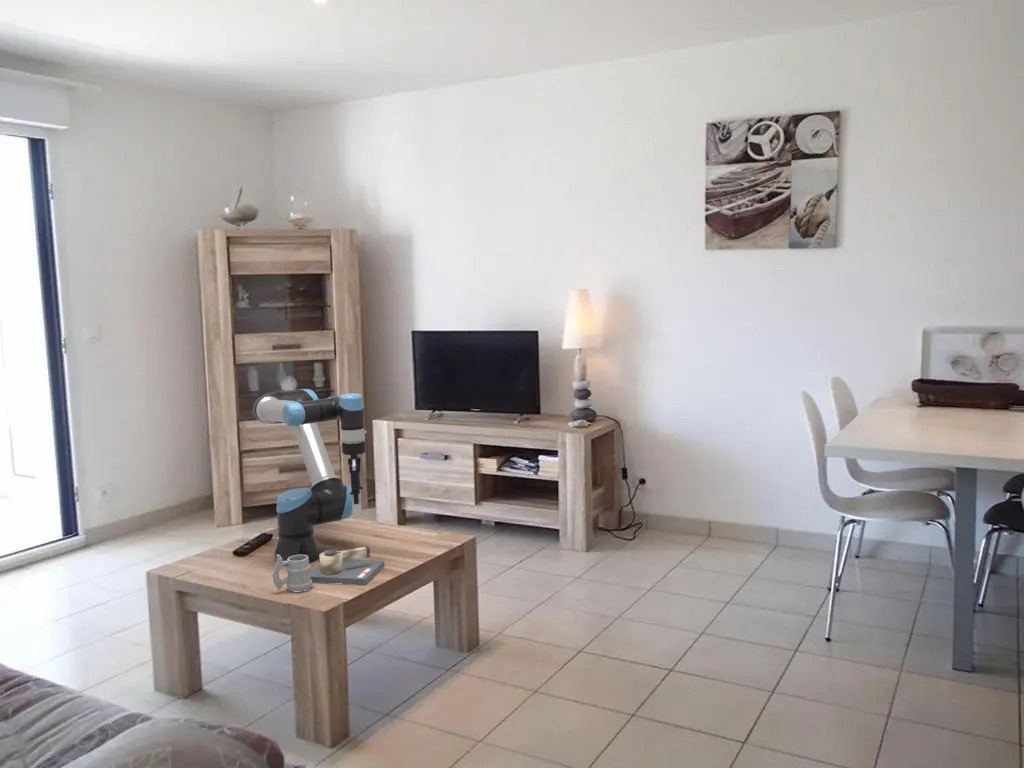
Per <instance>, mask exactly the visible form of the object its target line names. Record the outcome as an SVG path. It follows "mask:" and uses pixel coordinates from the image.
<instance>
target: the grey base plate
mask: <svg viewBox="0 0 1024 768" xmlns="http://www.w3.org/2000/svg"><path fill="white" fill-rule="evenodd" d="M384 566H385V560H376V559H375V560H374V559H373V560H371V559H369V560H368V559H357V560H351V561H346V562H343V571H342V572H341V573H339V574H336V575H323V574H321V572H320V564H318V566H316V567H315V568H313V569H312V570H310V577H311V579H312V582H318V583H317V584H328V583H342V584H341V585H348V584H356V585H355V586H367V585H368V584H369V582H370V581H372V580H373V577H374V576H375V575H376V574H377V573H378V572H379V571H380V570H381V569H382V568H383V567H384ZM384 568H385V567H384ZM384 568H383V569H384ZM383 569H382V570H383ZM382 570H381V571H382ZM381 571H380V572H381ZM380 572H379V573H380ZM379 573H378V574H379ZM378 574H377V575H378ZM377 575H376V576H377ZM374 578H375V577H374ZM319 582H321V583H319ZM323 582H324V583H323Z"/></svg>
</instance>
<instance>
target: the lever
mask: <svg viewBox="0 0 1024 768" xmlns="http://www.w3.org/2000/svg"><path fill="white" fill-rule="evenodd" d="M319 556H320V557H319V565H320V572H321V574H323V575H336V574H339V573H341V572H342V571H343V562H346V561H351V560H363V559H367V558H371V550H370V547H369V546H368V545H366V546H363V547H357V548H352V549H345V550H340V551H339V550H338V549H336V548H329V549H325V550H324V551H323V552H320V555H319Z"/></svg>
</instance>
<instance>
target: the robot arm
mask: <svg viewBox="0 0 1024 768" xmlns="http://www.w3.org/2000/svg"><path fill="white" fill-rule="evenodd" d="M363 399H364V397H363V395H362V394H360V393H355V392H353V393H349V392H348V393H343V394H340V396H338V395H336V396H334V395H332V396H329V397H327V398H321V399H319V397H318V396H317V394H316V392H315V391H313V390H312V389H309V388H298V389H294V390H282V391H274V392H273V391H272V392H267V393H265V394H263V395H261V396H260V397H258V398H257V399H256V400H255V402H254V404H253V408H252V412H253V415H254V417H255V419H256V420H257V421H259V422H260V423H262V424H266V425H267V424H268V425H269V424H270V425H272V424H273V425H274V424H275V425H276V424H286V427H287V429H288V430H290V431H291V432H293V433H294V436H295V438H296V443H297V445H298V448H299V451H300V453H301V456H302V459H303V462H304V465H305V467H306V470H307V474H308V477H309V480H310V482H311V487H310V488H309V487H300V488H292V489H288V490H286V491H284V492H282V493H280V494H279V495H278V496H277V499H276V508H275V509H276V516H277V531H278V541H277V545H276V548H275V552H274V561H276V560H277V554H278V555H280V556H281V557H282V560H283V561H287V559H288V558H289V557H291V556H294V555H307V556H308V557H309V564H310V563H312V562H315V561H317V560H319V559H320V556H319V555H320V554H321V549H320V546H319V543H318V541H317V539H316V536H315V534H314V526H318V525H322V524H327V523H332V522H338V521H339V522H340V521H341V520H345V519H348V518H350V517H351V516H352V515H353V514H354V515H356V514H362V493H361V492H362V491H361V490H363V486H361V476H360V472H361V464H362V462H361V461H362V459H361V458H362V457H360V456H359V455H363V454H365V453H366V441H365V439H366V436H365V434H367V430H365V412H364V411H365V410H364V409H365V408H364V407H365V405H364V400H363ZM334 421H340V437H341V442H342V443H341V452H342V454H343V455H346V456H350V457H349V458H348V460H347V465H348V470H349V474H350V485H349V484H344V482H343V480H342V478H341V477H338V476H336V473H335V470H334V468H333V464H332V462H331V460H330V457H329V454H328V451H327V449H326V446H325V443H324V440H323V438H322V436H321V433H320V430H319V427H318V424H317V423H325V422H334Z"/></svg>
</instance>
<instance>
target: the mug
mask: <svg viewBox="0 0 1024 768" xmlns="http://www.w3.org/2000/svg"><path fill="white" fill-rule="evenodd" d="M283 566H287V567H286V572H287V576H286V577H284V578H282V579H281V577H280V570H281V569H282V567H283ZM310 572H311V564H310V563H309V557H308V556H307V555H294V556H291V557H289V558H288V559H287V561H283V560H282V557H281V556H280V555H278V554H277V560H276V562H275V565H274V568H273V572H272V579H273V580H272V581H273V584H274V587H276V589H277V590H280V589H281V588H283V586H284V585H286V587H287V590H290V591H299V592H300V591H304V590H308V589H310V588H311V589H312V584H313V583H312V579H311V577H310ZM311 589H310V590H311ZM290 591H289V592H290ZM308 591H309V590H308ZM300 593H301V592H300Z"/></svg>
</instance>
